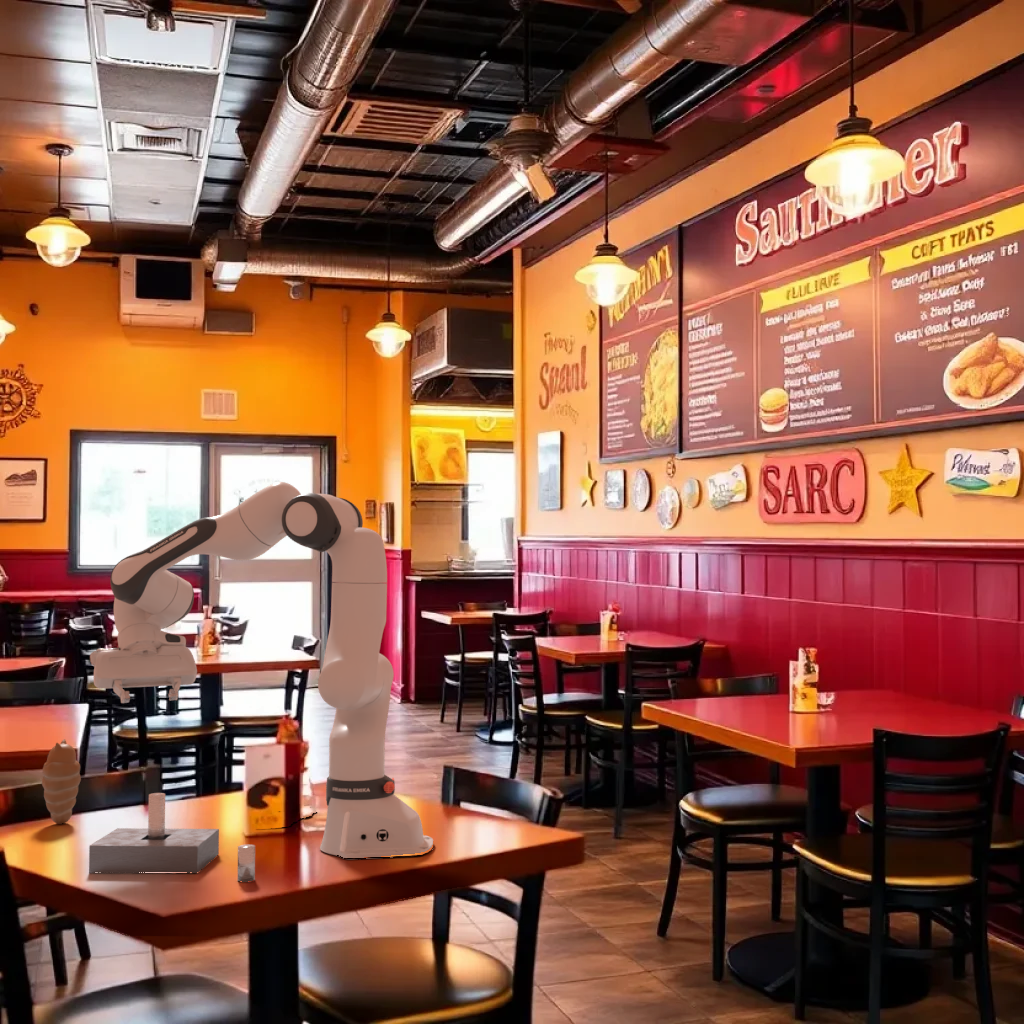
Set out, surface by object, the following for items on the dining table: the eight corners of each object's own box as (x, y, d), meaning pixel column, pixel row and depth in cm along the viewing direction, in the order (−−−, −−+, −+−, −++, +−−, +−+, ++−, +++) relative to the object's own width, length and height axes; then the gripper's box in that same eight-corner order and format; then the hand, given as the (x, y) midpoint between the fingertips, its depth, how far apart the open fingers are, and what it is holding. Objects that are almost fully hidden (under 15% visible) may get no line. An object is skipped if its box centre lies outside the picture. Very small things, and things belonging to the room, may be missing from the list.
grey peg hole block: (218, 854, 226) (218, 828, 226) (197, 873, 212) (197, 846, 212) (116, 854, 226) (117, 828, 227) (88, 873, 212) (89, 845, 213)
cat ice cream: (49, 819, 257) (50, 738, 258) (85, 819, 258) (86, 737, 258) (34, 828, 248) (36, 744, 249) (72, 828, 249) (73, 743, 250)
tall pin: (166, 861, 221) (167, 792, 221) (161, 866, 218) (162, 796, 218) (150, 861, 221) (151, 792, 221) (145, 865, 218) (146, 795, 218)
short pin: (256, 878, 209) (256, 844, 209) (252, 882, 206) (252, 848, 206) (240, 878, 209) (240, 844, 210) (235, 882, 206) (236, 848, 206)
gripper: (90, 639, 235) (97, 692, 226) (192, 636, 245) (203, 687, 236) (87, 659, 239) (93, 712, 230) (187, 656, 249) (197, 706, 240)
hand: (150, 699), depth 233 cm, fingers open, 8 cm apart
